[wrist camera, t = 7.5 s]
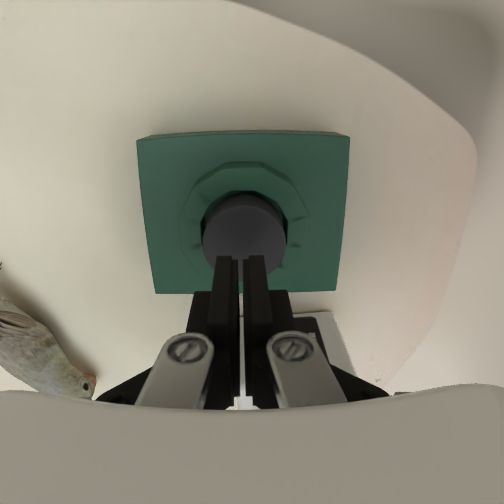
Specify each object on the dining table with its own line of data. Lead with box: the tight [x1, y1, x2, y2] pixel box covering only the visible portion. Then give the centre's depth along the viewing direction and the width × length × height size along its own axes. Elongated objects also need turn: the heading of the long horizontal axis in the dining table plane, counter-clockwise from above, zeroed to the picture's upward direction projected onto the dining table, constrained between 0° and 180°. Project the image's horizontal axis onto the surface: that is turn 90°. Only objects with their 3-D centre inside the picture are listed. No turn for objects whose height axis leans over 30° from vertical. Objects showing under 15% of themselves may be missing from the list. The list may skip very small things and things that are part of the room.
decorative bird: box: [0, 262, 96, 398], centre depth 22 cm, size 5×16×8 cm, turn 35°
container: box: [237, 312, 357, 410], centre depth 21 cm, size 8×8×13 cm
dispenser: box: [136, 130, 350, 294], centre depth 19 cm, size 12×10×5 cm
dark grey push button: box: [203, 194, 286, 282], centre depth 16 cm, size 4×4×2 cm
